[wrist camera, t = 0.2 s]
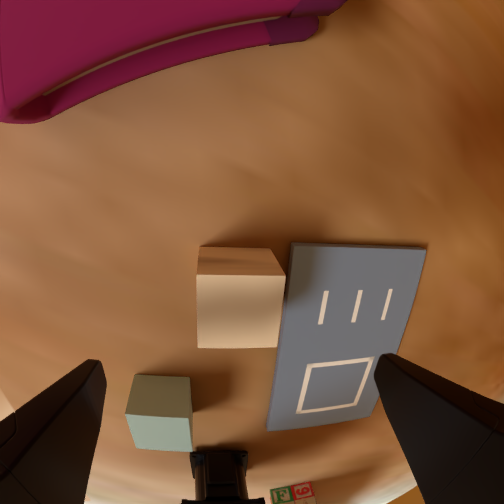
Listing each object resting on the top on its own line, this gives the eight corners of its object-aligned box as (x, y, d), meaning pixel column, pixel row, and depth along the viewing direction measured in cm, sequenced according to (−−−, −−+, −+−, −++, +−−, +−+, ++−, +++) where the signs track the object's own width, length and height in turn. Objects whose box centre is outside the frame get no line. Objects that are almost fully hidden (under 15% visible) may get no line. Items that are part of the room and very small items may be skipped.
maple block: (264, 309, 24) (276, 347, 19) (199, 308, 23) (197, 347, 18) (269, 248, 22) (285, 275, 17) (199, 246, 21) (196, 274, 17)
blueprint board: (367, 411, 30) (369, 416, 29) (266, 425, 28) (267, 431, 28) (421, 247, 24) (426, 250, 23) (291, 242, 22) (294, 245, 21)
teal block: (192, 412, 27) (192, 451, 22) (142, 409, 26) (136, 448, 21) (189, 376, 25) (188, 418, 20) (134, 373, 24) (125, 413, 20)
